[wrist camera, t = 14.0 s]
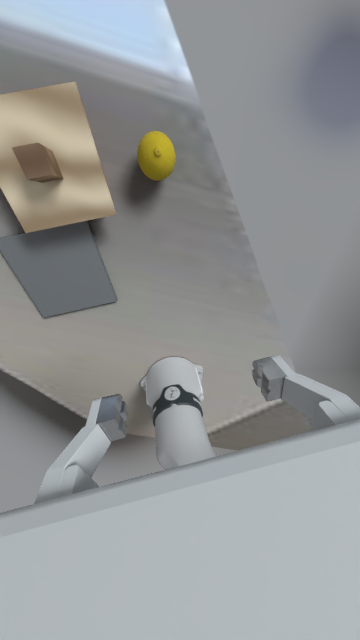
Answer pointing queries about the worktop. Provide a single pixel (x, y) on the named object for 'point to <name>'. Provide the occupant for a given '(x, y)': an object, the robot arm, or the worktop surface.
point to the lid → (50, 159)
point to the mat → (59, 268)
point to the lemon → (156, 155)
